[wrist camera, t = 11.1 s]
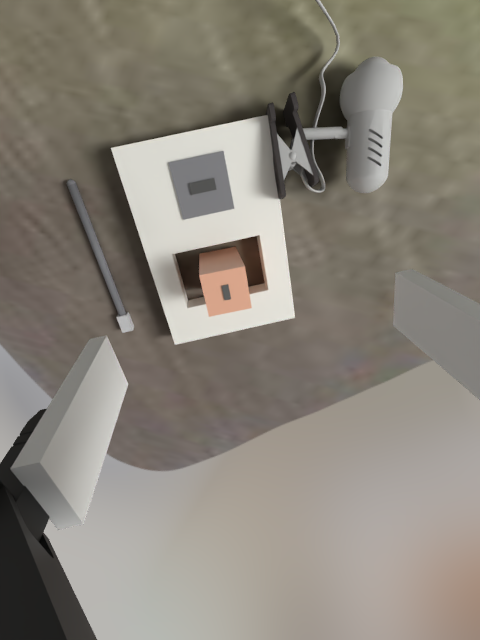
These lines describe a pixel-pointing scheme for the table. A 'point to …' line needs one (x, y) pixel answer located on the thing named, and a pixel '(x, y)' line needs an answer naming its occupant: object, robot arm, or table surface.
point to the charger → (224, 281)
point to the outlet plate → (208, 217)
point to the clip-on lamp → (360, 135)
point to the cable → (100, 258)
